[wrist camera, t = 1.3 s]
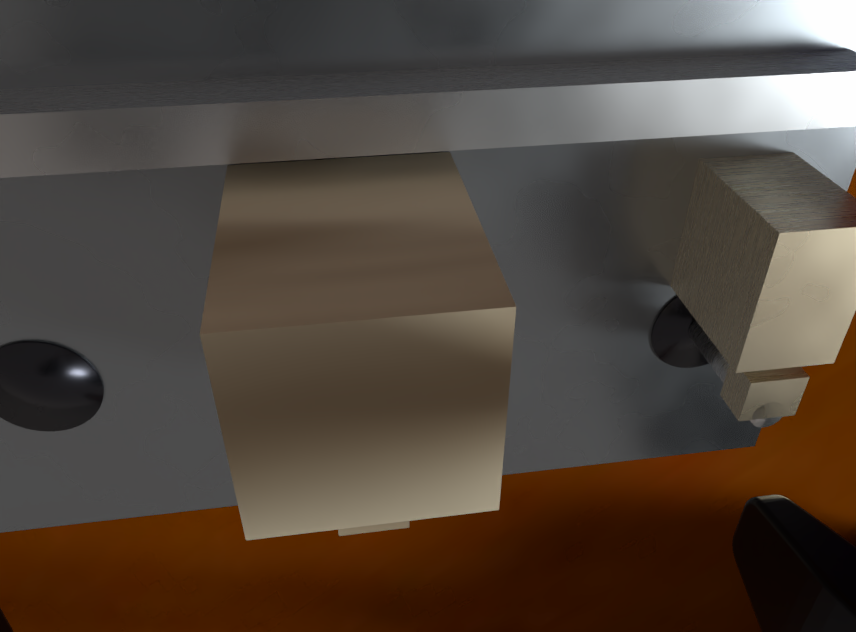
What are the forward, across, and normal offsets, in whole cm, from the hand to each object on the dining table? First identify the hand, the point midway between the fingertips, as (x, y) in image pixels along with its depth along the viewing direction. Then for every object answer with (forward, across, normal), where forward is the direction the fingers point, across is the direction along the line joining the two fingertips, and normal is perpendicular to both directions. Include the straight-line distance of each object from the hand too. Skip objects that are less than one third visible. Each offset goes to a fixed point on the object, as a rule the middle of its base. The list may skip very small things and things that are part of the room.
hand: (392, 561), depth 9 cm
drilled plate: (+8, 0, 0) cm, 8 cm away
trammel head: (+7, 0, 0) cm, 7 cm away
